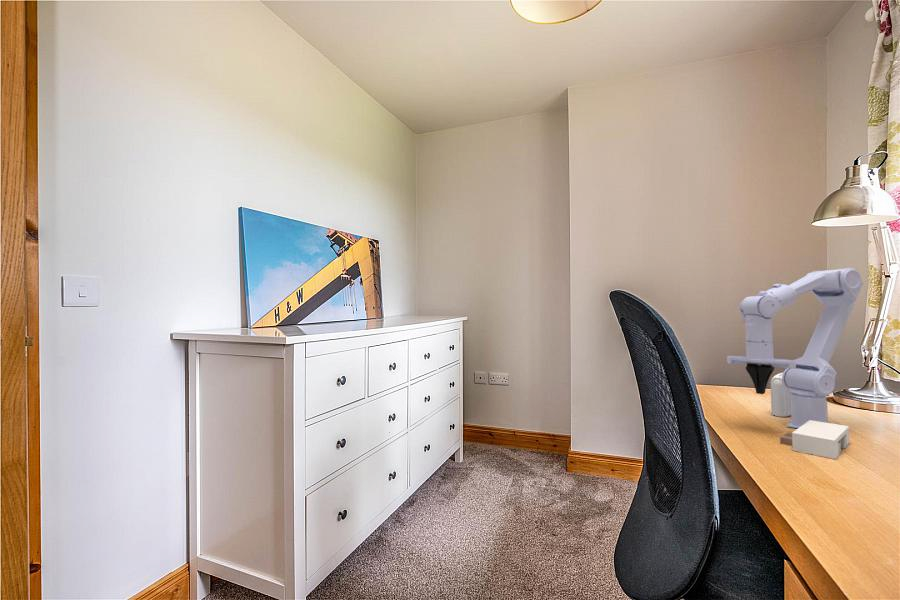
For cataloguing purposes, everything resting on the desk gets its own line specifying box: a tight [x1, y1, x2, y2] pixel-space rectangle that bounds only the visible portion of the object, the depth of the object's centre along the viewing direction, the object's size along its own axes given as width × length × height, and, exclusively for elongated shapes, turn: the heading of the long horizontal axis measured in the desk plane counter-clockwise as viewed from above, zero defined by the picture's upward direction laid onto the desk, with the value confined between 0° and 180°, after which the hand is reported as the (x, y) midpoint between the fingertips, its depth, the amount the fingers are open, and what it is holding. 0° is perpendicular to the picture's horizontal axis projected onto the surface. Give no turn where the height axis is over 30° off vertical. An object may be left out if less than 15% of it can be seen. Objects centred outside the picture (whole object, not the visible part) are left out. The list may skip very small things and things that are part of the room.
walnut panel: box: [779, 431, 793, 447], centre depth 98 cm, size 7×9×2 cm
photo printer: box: [770, 372, 791, 418], centre depth 125 cm, size 10×4×12 cm, turn 123°
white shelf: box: [791, 420, 851, 460], centre depth 97 cm, size 16×7×4 cm, turn 128°
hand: (760, 393), depth 109 cm, fingers closed
